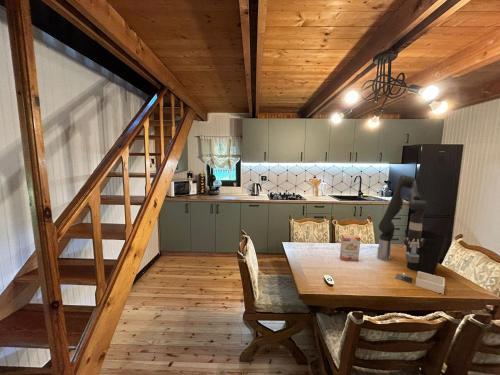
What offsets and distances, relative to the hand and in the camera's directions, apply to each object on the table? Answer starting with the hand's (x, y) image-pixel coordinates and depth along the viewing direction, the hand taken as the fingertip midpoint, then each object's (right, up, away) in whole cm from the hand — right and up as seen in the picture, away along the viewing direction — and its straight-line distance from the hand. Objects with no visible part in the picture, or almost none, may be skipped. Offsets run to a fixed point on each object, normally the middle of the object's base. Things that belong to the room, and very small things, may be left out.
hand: (412, 252), depth 169 cm
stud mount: (-3, -21, +5) cm, 22 cm away
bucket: (+21, -20, +22) cm, 37 cm away
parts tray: (+9, -22, -4) cm, 25 cm away
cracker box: (-30, -16, +37) cm, 50 cm away
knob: (0, -6, +1) cm, 7 cm away
